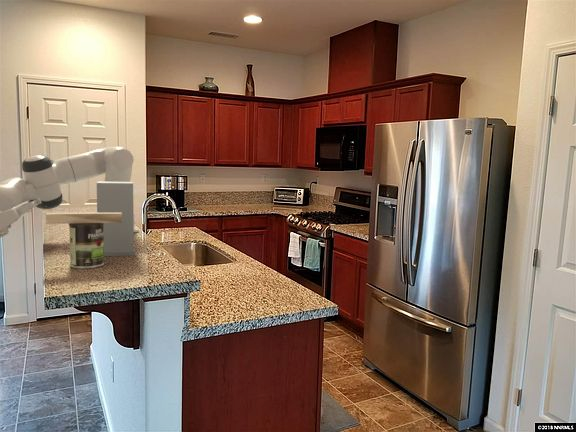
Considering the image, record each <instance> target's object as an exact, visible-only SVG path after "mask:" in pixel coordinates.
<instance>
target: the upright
mask: <svg viewBox="0 0 576 432" xmlns="http://www.w3.org/2000/svg"><path fill="white" fill-rule="evenodd" d="M96 212H122V223H104V225H103V235H104V257H125V256H124V255H127V256H136V246H135V241H134V240H135V239H134V237H135V232H134V219H135V215H134V216H133V214H134V181H130V182H105V180H104V181H102V180H101V181H97V182H96Z"/></svg>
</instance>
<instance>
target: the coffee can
mask: <svg viewBox="0 0 576 432" xmlns="http://www.w3.org/2000/svg"><path fill="white" fill-rule="evenodd" d="M103 225H104V223H71V224H68V227H69V249H70V250H69V259H70V261H69V262H70V263H69V264H70V267H71V268H74V269H82V270H83V269H94V268H99V267H102V266H104V265H105V260H104V259H105V256H104V235H103Z"/></svg>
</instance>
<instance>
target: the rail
mask: <svg viewBox="0 0 576 432" xmlns="http://www.w3.org/2000/svg"><path fill="white" fill-rule="evenodd" d="M71 223H122V212H97V211H95V212H93V211H92V212H46V214H45V224H46V225H57V224H58V225H59V224H62V225H63V224H67V225H69V224H71Z"/></svg>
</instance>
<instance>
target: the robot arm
mask: <svg viewBox="0 0 576 432" xmlns="http://www.w3.org/2000/svg"><path fill="white" fill-rule="evenodd" d="M134 161H135V159H134V156H133V154H132V152H131V151H130V150H129V149H128V148H126V147H125V146H108V147H107V146H106V147H103V148H99V149H95V150H92V151H88V152H83V153H80V154H75V155H70V156H66V157H62V158H58V159H55V160H52V159H50V157H48V156H46V155H42V154H41V155H36V154H35V155H32V156H29V157H27V158H25V159H24V160H23V161H22V163H21V169H22V172H23V175H24V179H23V178H22V177H18V176H17V177H10V178H8V179H5V180H3V181H1V182H0V239H1V238H3V237H4V236H7V235H8V234H9V231H10V230H9V229H10V228H12V225H13V224H14V223H16V222H17V221H18V220H20V219H21V218H23V217H24V216H26V215H27V214H29V213H31V212H32V209H34V208H36V209H37V208H38V209H41V210H51V209H55V208H57V207H60V205H61V204H62V203H63V193H62V191H61V189H62V188H61V185H62V186H63V185H68V184H73V183H77V182H81V181H85V180H89V179H94V178H96V177H98V176H102V175H105V176H104V181H105V182H131V178H132V171H133V166H134V165H133V164H134ZM133 216H134V217H135V213H133ZM134 233H140V229H139V228H137V227H136V221H135V218H134Z"/></svg>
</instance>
